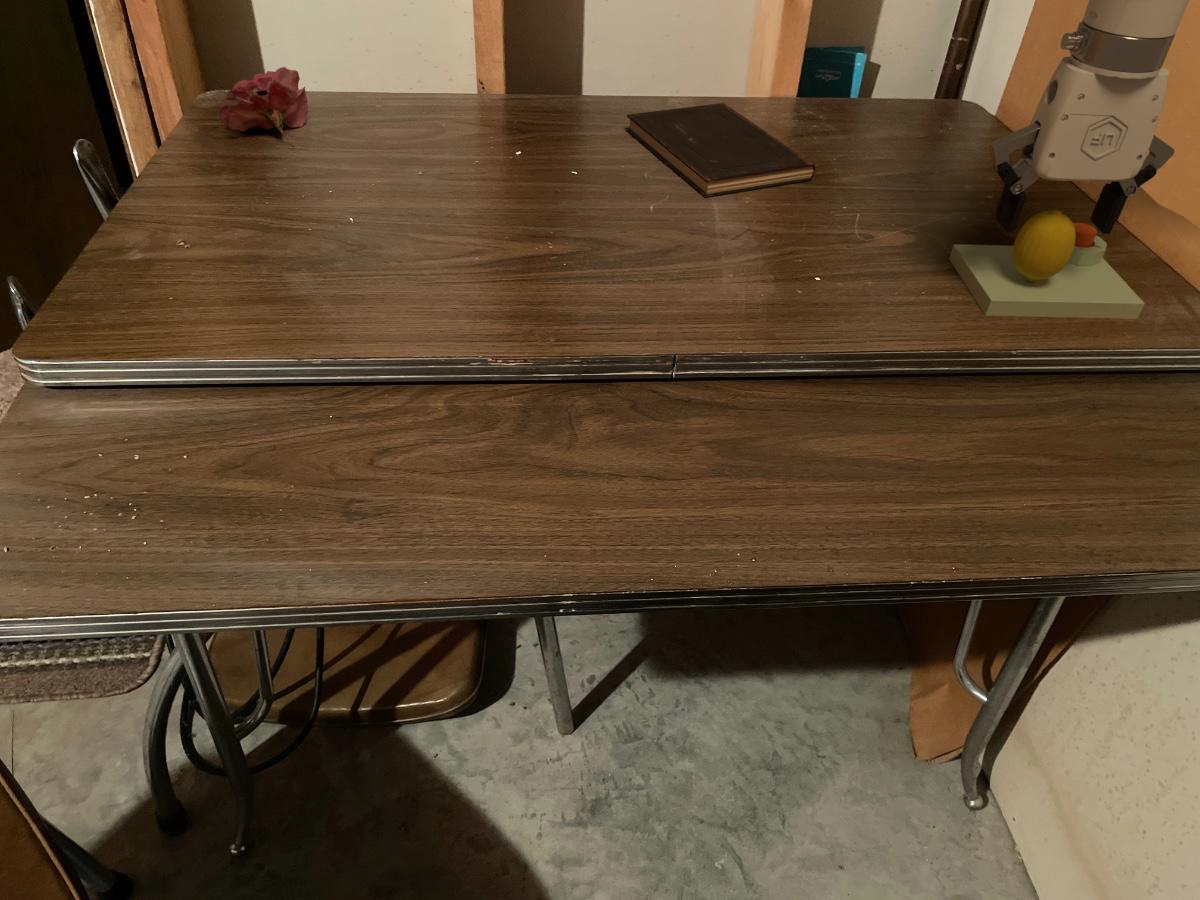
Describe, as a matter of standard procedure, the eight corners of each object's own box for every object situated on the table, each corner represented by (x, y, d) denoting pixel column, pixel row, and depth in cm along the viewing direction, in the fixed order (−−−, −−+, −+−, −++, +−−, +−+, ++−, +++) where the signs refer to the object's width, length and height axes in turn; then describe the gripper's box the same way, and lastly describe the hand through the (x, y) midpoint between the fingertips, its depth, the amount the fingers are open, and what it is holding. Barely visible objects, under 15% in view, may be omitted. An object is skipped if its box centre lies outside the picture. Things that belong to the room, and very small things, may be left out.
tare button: (1084, 237, 101) (1090, 222, 100) (1095, 249, 99) (1101, 234, 98) (1059, 236, 101) (1065, 222, 100) (1070, 248, 99) (1076, 234, 98)
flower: (234, 152, 126) (237, 77, 125) (309, 159, 127) (312, 85, 126) (209, 131, 114) (211, 48, 113) (291, 138, 115) (294, 57, 115)
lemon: (1066, 295, 94) (1096, 223, 88) (1012, 293, 94) (1039, 221, 88) (1046, 269, 98) (1074, 198, 93) (995, 267, 98) (1020, 196, 93)
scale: (1082, 257, 104) (1094, 228, 102) (1137, 319, 94) (1151, 289, 92) (944, 253, 104) (953, 225, 102) (985, 316, 94) (996, 286, 91)
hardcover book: (704, 197, 113) (707, 180, 111) (626, 130, 128) (626, 114, 127) (813, 180, 118) (816, 163, 116) (724, 118, 134) (726, 102, 132)
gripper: (1040, 60, 78) (980, 243, 89) (1238, 64, 78) (1154, 246, 89) (1008, 33, 83) (955, 209, 94) (1193, 38, 84) (1119, 211, 95)
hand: (1052, 226), depth 92 cm, fingers open, 9 cm apart
